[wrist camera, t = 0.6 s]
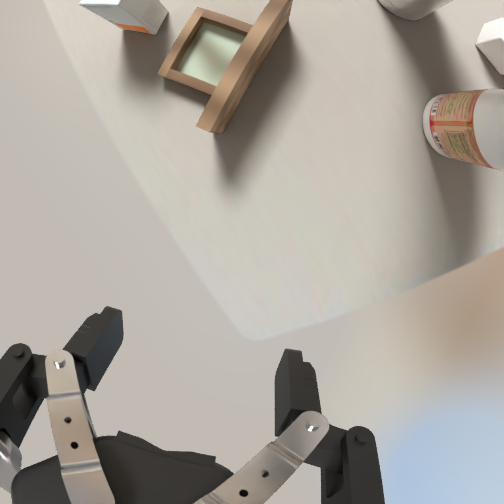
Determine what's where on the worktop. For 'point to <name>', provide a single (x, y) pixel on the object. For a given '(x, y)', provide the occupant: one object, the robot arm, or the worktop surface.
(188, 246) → the worktop surface
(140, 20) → the skincare box
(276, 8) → the wooden frame stand
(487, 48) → the medicine bottle
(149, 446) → the robot arm
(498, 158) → the fruit juice
